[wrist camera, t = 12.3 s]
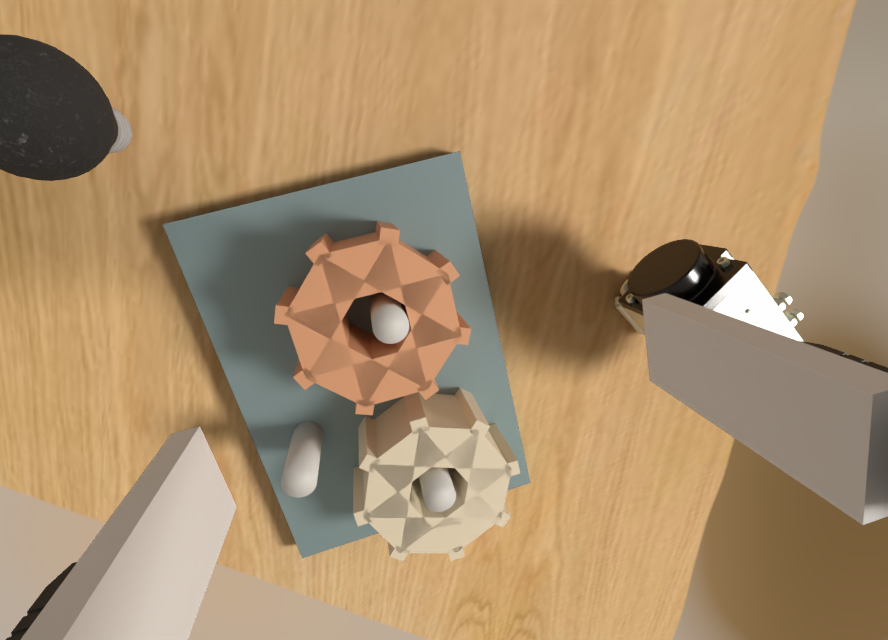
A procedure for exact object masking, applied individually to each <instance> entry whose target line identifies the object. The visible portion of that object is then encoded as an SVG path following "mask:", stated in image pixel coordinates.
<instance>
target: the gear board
mask: <svg viewBox="0 0 888 640" xmlns="http://www.w3.org/2000/svg"><path fill="white" fill-rule="evenodd" d="M377 221H380V222H386V223H392V224H394V225H395V226H396V227H397V228H398V229H399V230H400V234H399V240H401V241H403V242H404V243H406V244H407V245H409V246H411V247H412V248H414V249H416V250H417V251H419V252H420V253H422V254H424V255H425V256H427V255H429V254H430V253H431V252H433V251H434V250H436V251H437V252H438V253H440V254H441V255H442V256H444V257H445V258H446V259H448V260H449V261H450V262H451V263H452V265H453V266H454V268H455V269H456V271H457V272H458V273H459V275H460V276H459V277H458V278H456V279H455V280H454V281H452V282H451V283H450V285H451V289H452V294H453V299H454V303H455V308H456V311H457V312H458V313H459V315H460V316H461V317H462V318H463V319H464V321H465V322H466V323H467V324H468V325H469V327H470V328H471V333H470V338H469V344H468V345H462V344H456V346H455V347H454V349H453V351H452V352H451V354H450V355H449V357H448V358H447V360H446V362H445V363H444V365H443V366H442V368H441V369H440V371H439V372H438V374H437V376H436V377H435V381H436V384H437V386H438V388H439V391H437V392H436V393H435V394H433V395H432V396H431V397H429V398H428V399H427V400H425V399H424V398H423V396H422V395H421V394H420V393H419V392H417V393H413V394H410V395H406V396H403V397H399V398H396V399H392V400H388V401H385V402H381V403H378V404H374V411H373V415H362V414H355V402H354V401H351V400H349V399H347V398H345V397H343V396H341V395H339V394H337V393H335V392H333V391H331V390H328V389H326V388H324V387H322V386H320V385H318V384H316V383H314V384H313V385H311V386H310V387H308V388H307V389H306V390H304V389H303V388H302V387H301V386H300V385H299V383H298V382H297V381H296V380H295V379H294V378H293V375H294V372H295V369H296V366H297V363H298V360H299V357H298V354H297V351H296V348H295V345H294V343H293V340H292V337H291V334H290V331H289V328H288V325H282V324H274V318H275V307H276V304H277V303H278V301H279V300H280V298H281V297H282V295H283V294H284V292H285V291H286V289H287V288H288V286H289V287H297V288H300V287H301V285H302V283H303V282H304V280H305V278H306V276H307V275H308V273H309V271H310V269H311V268H312V266H313V264H314V263H313V262H312V261H311V260H310V258H309V257H308V256H307V255H306V254H305V253H306V252H307V250H308V249H309V248H310V246H311V245H312V244H313V243H314V242H315V241H316V240H318V239H319V238H320V237H322V236H323V235H324V234H326V233H327V234H328V236H329V237H330V238H331V239H332V241H333V242H336V241H340V240H344V239H349V238H353V237H357V236H361V235H365V234H369V233H373V232H375V231H376V223H377ZM163 227H164V229H165V232H166V234H167V236H168V239H169V241H170V243H171V246H172V248H173V251H174V253H175V255H176V258H177V260H178V263H179V265H180V267H181V270H182V272H183V275H184V277H185V279H186V282H187V284H188V286H189V289H190V291H191V294H192V296H193V298H194V301H195V303H196V306H197V308H198V310H199V313H200V315H201V318H202V320H203V322H204V325H205V327H206V329H207V332H208V334H209V337H210V339H211V341H212V344H213V346H214V349H215V351H216V353H217V356H218V358H219V361H220V363H221V365H222V368H223V370H224V372H225V375H226V377H227V380H228V382H229V384H230V387H231V389H232V392H233V394H234V396H235V399H236V401H237V403H238V406H239V408H240V411H241V413H242V415H243V418H244V420H245V423H246V425H247V427H248V430H249V432H250V435H251V437H252V439H253V442H254V444H255V446H256V449H257V451H258V454H259V456H260V458H261V461H262V463H263V466H264V468H265V470H266V473H267V475H268V478H269V480H270V482H271V485H272V487H273V489H274V492H275V494H276V497H277V499H278V501H279V504H280V506H281V509H282V511H283V513H284V516H285V518H286V521H287V523H288V525H289V528H290V530H291V532H292V535H293V537H294V540H295V542H296V544H297V547H298V549H299V552H300V554H301V556H302V558H304V557H307V556H310V555H313V554H316V553H319V552H322V551H325V550H328V549H331V548H334V547H337V546H341V545H344V544H347V543H350V542H353V541H356V540H359V539H362V538H365V537H368V536H371V535H374V534H377V533H380V534H381V535H382V536H383V537H384V538H385V539H386V540H387V541H388V546H389V557H392V558H395V559H397V560H400V561H404V559H405V558H406V556H407V555H408V553H448V554H449V558H450V561H452V560H455V559H458V558H461V557H464V556H465V555H464V551H463V547H465V546H466V545H467V544H469V543H470V542H471V541H473V540H474V539H475V538H477V537H478V536H479V535H481V534H482V533H483V532H485V531H486V530H487V529H489V528H490V527H491V526H493V525H494V524H496V525H498V526H501V527H504V525H505V524H506V523H507V521H508V520H509V518H510V517H511V514H510V512H509V510H508V508H507V506H506V504H505V499H506V495H507V490H510V489H513V488H516V487H519V486H522V485H525V484H528V483H530V479H529V474H528V469H527V465H526V460H525V455H524V451H523V446H522V441H521V437H520V432H519V427H518V422H517V418H516V413H515V408H514V404H513V399H512V394H511V390H510V385H509V380H508V375H507V371H506V366H505V361H504V357H503V352H502V347H501V343H500V338H499V333H498V328H497V324H496V319H495V314H494V310H493V305H492V300H491V295H490V291H489V286H488V281H487V277H486V272H485V267H484V263H483V258H482V253H481V248H480V244H479V239H478V234H477V230H476V225H475V220H474V216H473V211H472V206H471V201H470V197H469V192H468V187H467V183H466V178H465V173H464V169H463V164H462V159H461V154H460V151H459V152H455V153H451V154H447V155H443V156H438V157H434V158H430V159H426V160H422V161H418V162H414V163H410V164H406V165H402V166H398V167H394V168H390V169H386V170H382V171H378V172H374V173H369V174H365V175H361V176H357V177H353V178H349V179H345V180H341V181H337V182H333V183H329V184H325V185H321V186H317V187H313V188H309V189H304V190H300V191H296V192H292V193H288V194H284V195H280V196H276V197H272V198H268V199H264V200H260V201H256V202H252V203H248V204H244V205H240V206H235V207H231V208H227V209H223V210H219V211H215V212H211V213H207V214H203V215H199V216H195V217H191V218H187V219H183V220H179V221H175V222H170V223H166V224H163ZM346 313H347V317H348V320H349V323H351V324H353V325H355V326H357V327H358V328H360V329H362V330H364V331H366V332H368V333H372V332H373V333H374V335H375V336H376V338H377V339H378V340H380V341H381V342H383V343H386V344H394V343H398V342H400V341H401V340H403V339H404V338H405V337H406V335H407V333H408V331H409V321H408V318H407V316H406V313H405V311H404V308H403V306H402V303H400V302H399V301H397V300H395V299H393V298H391V297H390V296H388V295H386V294H384V293H383V292H379V293H375V294H371V295H368V296H364V297H360V298H356V299H354V301H353V302H352V304H351V306H350V307H349V309H348V311H347V312H346Z"/></svg>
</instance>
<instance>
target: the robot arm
mask: <svg viewBox="0 0 888 640" xmlns="http://www.w3.org/2000/svg"><path fill="white" fill-rule="evenodd" d="M642 304H643V315H644V326H645V336H646V347H647V357H648V368H649V378H650V381H651V382H653V383H654V384H656V385H657V386H658V387H660V388H661V389H663V390H664V391H666V392H667V393H669V394H670V395H672V396H673V397H675V398H676V399H678V400H679V401H681V402H682V403H684V404H685V405H687V406H688V407H690V408H691V409H692V410H694V411H695V412H697V413H698V414H700V415H701V416H703V417H704V418H706V419H707V420H709V421H710V422H712V423H713V424H715V425H716V426H718V427H719V428H721V429H722V430H723V431H725V432H726V433H728V434H729V435H731V436H732V437H734V438H735V439H737V440H738V441H740V442H741V443H743V444H744V445H746V446H747V447H749V448H750V449H752V450H753V451H754V452H756V453H757V454H759V455H761V456H762V457H763V458H765V459H766V460H768V461H769V462H771V463H772V464H774V465H775V466H777V467H778V468H780V469H781V470H783V471H784V472H785V473H787V474H788V475H790V476H791V477H793V478H794V479H796V480H797V481H799V482H800V483H802V484H803V485H805V486H806V487H808V488H809V489H811V490H812V491H814V492H815V493H817V494H818V495H819V496H821V497H823V498H824V499H825V500H827V501H828V502H830V503H831V504H833V505H834V506H836V507H837V508H839V509H840V510H842V511H843V512H845V513H846V514H847V515H849V516H851V517H852V518H853V519H855V520H856V521H858V522H859V523H861V524H862V525H864V524H867V523H870V522H872V521H875V520H878V519H881V518H884V517H887V516H888V368H887V367H884V366H881V365H878V364H876V363H873V362H868V363H867V362H866V361H865V360H864V359H861V358H858V357H855V356H853V355H848V356H847V355H846V353H844V352H841V351H838V350H836V349H833V348H830V347H827V346H824V345H820V344H814V343H809V342H803V341H797V340H795V339H792V338H789V337H786V336H783V335H781V334H778V333H775V332H772V331H770V330H767V329H764V328H761V327H758V326H756V325H753V324H750V323H747V322H745V321H742V320H739V319H736V318H733V317H731V316H728V315H725V314H722V313H720V312H717V311H714V310H711V309H708V308H706V307H703V306H700V305H697V304H695V303H692V302H689V301H686V300H683V299H681V298H678V297H675V296H672V295H670V294H667V293H663V294H660V295H656V296H653V297H649V298H646V299H642ZM235 510H236V504H235V502H234V500H233V498H232V496H231V493H230V491H229V489H228V487H227V485H226V482H225V480H224V478H223V476H222V474H221V471H220V469H219V467H218V465H217V463H216V461H215V458H214V456H213V454H212V452H211V450H210V447H209V445H208V443H207V441H206V439H205V436H204V434H203V432H202V430H201V428H200V426H198V427H195V428H191V429H188V430H184V431H181V432H177V433H174V434H171V435H170V436H169V438H168V439H167V440H166V442H165V443H164V445H163V446H162V447H161V449H160V450H159V451H158V453H157V454H156V455H155V457H154V458H153V460H152V461H151V462H150V464H149V465H148V466H147V468H146V469H145V470H144V472H143V473H142V475H141V476H140V477H139V479H138V480H137V481H136V483H135V484H134V485H133V487H132V488H131V490H130V491H129V492H128V494H127V495H126V496H125V498H124V499H123V501H122V502H121V503H120V505H119V506H118V507H117V509H116V510H115V511H114V513H113V514H112V516H111V517H110V518H109V520H108V521H107V522H106V524H105V525H104V526H103V528H102V529H101V531H100V532H99V533H98V535H97V536H96V537H95V539H94V540H93V541H92V543H91V544H90V546H89V547H88V548H87V550H86V551H85V552H84V554H83V555H82V556H81V558H80V559H79V561H78V562H75V563H72V564H71V565H70V566H69V567H68V568H67V569H66V570H65V571H63V572H62V573H61V574H60V575H59V576H58V577H57V578H56V579H55V580H53V581H52V582H51V583H50V584H49V585H48V586H47V587H46V588H45V589H44V591H43V592H42V593H41V594H40V596H39V597H38V598H37V600H36V601H35V602H34V604H33V605H32V606H31V608H30V609H29V610H28V612H27V613H28V615H27V616H25V617H23V618H22V619H21V621H20V622H19V623H18V625H17V626H16V627H15V629H14V630H13V631H12V632H11V634H12V636H11V637H9V638H7V639H6V640H188V638H189V635H190V632H191V629H192V627H193V624H194V621H195V619H196V616H197V613H198V610H199V608H200V605H201V602H202V600H203V597H204V594H205V591H206V589H207V586H208V583H209V581H210V578H211V575H212V572H213V570H214V567H215V564H216V561H217V559H218V556H219V553H220V551H221V548H222V545H223V542H224V540H225V537H226V534H227V532H228V529H229V526H230V523H231V521H232V518H233V515H234V513H235Z"/></svg>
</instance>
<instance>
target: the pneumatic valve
mask: <svg viewBox="0 0 888 640" xmlns="http://www.w3.org/2000/svg"><path fill="white" fill-rule="evenodd" d="M620 293H621V296H622V297H621V296H617V297H615V299H614V302H615V304H614V306H615V308H616V309H617V310H618V311H619V312H620V313H621V314H622V315H623V316H624V318H625V319H626V320H627V321H628V322H629V323H630V324H631V325H632V327H633V328H634V329H635V330H636V331H637V332H638V333H639V334H643V335H645V326H644V315H643V304H642V299H646V298H649V297H653V296H656V295H660V294H663V293H667V294H670V295H672V296H675V297H678V298H681V299H683V300H686V301H689V302H692V303H695V304H697V305H700V306H703V307H706V308H708V309H711V310H714V311H717V312H720V313H722V314H725V315H728V316H731V317H733V318H736V319H739V320H742V321H745V322H747V323H750V324H753V325H756V326H758V327H761V328H764V329H767V330H770V331H772V332H775V333H778V334H781V335H783V336H786V337H789V338H792V339H795V340H797V341H803V339H802V338H801V337H800V335H799V334H798V333H797V331H796V330H795V328H794V326H795V325H796V324H797V321H800V320H801V319H802V318H803V314H802V313H801V312H800V311H799V310H797V309H795V308H790V309H788V310H787V311H786V314H784V313H783V312H782V311H783V310H784V309H785V308H786V305H789V304H790V303H791V302H792V298H791V297H790V296H789V295H788V294H786V293H784V292H779V293H777V294H776V295H775V296H774V297H775V298H772V296H771V295H770V294H769V292H768V291H767V289H766V288H765V287H764V285H763V284H762V282H761V281H760V280H759V278H758V277H757V276H756V274H755V273H754V271H753V270H752V269H751V267H750V266H749V264H748V263H747V262H744V261H738V260H734V258H733V257H732V256H731V254H730V253H729V252H728V250H727V249H725V248H719V247H713V246H706V245H700V244H698V243H697V242H695V241H693V240H689V239H682V240H676V241H672V242H670V243H667V244H665V245H662V246H660V247H659V248H657V249H655V250H654V251H652V252H651V253H649V254H648V255H647V256H645V257H644V258H643V259H642V260H641V261H640V262H639V263H638V264H637V265H636V266H635V268H634V269H633V270H632V272H631V274H630V276H629V278H628V279H627V280H626V281H625V282H624V283H623V285H622V286H621V289H620ZM803 342H804V341H803Z"/></svg>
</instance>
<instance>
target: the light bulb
mask: <svg viewBox="0 0 888 640" xmlns="http://www.w3.org/2000/svg"><path fill="white" fill-rule="evenodd" d="M131 139H132V129H131V126H130V124H129V122H128V120H127V119H126V118H125V116H124V115H122V114H121V113H120V112H119V111H118V110H116V109H115V108H113V107H111V104H110V102H109V99H108V98H107V96H106V95H105V93H104V91H103V89H102V88H101V86H100V85H99V83H98V82H97V81H96V80H95V78H94V77H93V76H92V75H91V74H90V73H89V72H88V71H87V70H86V69H85V68H84V67H83V66H81V65H80V64H79V63H78V62H77V61H75V60H74V59H73V58H71V57H70V56H68V55H66V54H65V53H63V52H62V51H60V50H58V49H57V48H55V47H53V46H50V45H48V44H45V43H43V42H40V41H37V40H33V39H29V38H25V37H21V36H17V35H0V169H1V170H4V171H6V172H8V173H11V174H14V175H16V176H20V177H25V178H31V179H35V180H48V181H53V180H63V179H68V178H73V177H77V176H80V175H82V174H84V173H86V172H89V171H90V170H91V169H93V168H94V167H96V166H97V165H98V164H99V163H100V162H102V161H103V159H104V158H105V157H106V156H107V155H108V153H114V152H120V151H122V150H124V149H125V148H126V147H127V146H128V145H129V144H130V141H131Z"/></svg>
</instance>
